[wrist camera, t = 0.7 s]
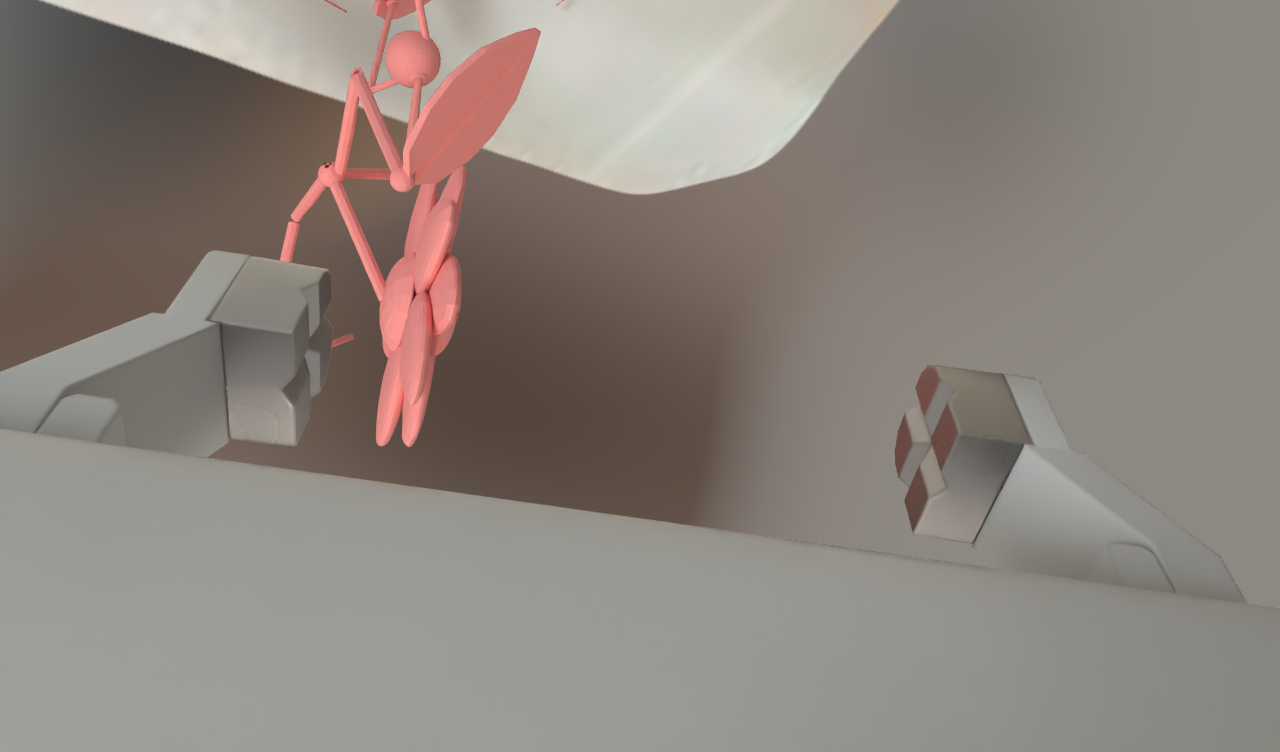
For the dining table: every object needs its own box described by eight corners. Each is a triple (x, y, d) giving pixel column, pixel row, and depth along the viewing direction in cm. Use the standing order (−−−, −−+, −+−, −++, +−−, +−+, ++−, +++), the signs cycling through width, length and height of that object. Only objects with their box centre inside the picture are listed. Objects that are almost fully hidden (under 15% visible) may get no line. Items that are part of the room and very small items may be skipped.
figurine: (313, 24, 69) (195, 521, 50) (419, -387, 49) (290, 179, 30) (535, 100, 74) (504, 572, 56) (711, -243, 54) (755, 311, 36)
